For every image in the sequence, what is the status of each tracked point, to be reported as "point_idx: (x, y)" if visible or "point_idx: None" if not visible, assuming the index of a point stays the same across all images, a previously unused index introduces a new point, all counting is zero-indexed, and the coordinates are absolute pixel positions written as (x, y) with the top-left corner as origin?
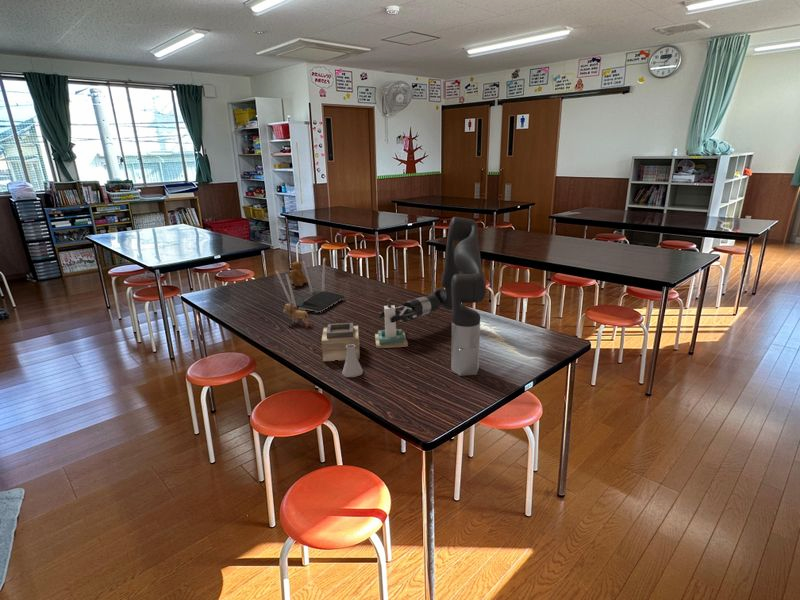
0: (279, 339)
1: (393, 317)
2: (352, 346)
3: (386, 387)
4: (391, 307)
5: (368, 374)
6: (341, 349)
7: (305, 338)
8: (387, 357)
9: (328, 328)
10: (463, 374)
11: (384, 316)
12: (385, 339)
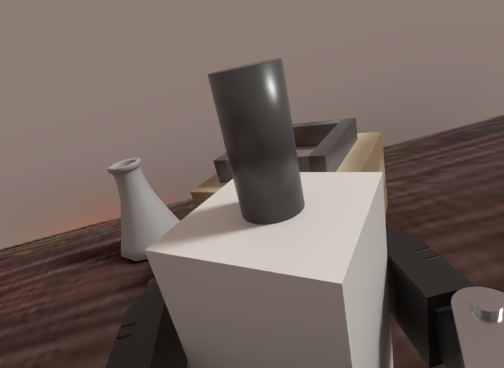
0: (492, 139)
1: (146, 300)
2: (129, 171)
3: (11, 290)
4: (237, 222)
5: (107, 271)
6: None
7: (496, 171)
8: None
9: (305, 124)
10: None
11: (393, 310)
12: None
